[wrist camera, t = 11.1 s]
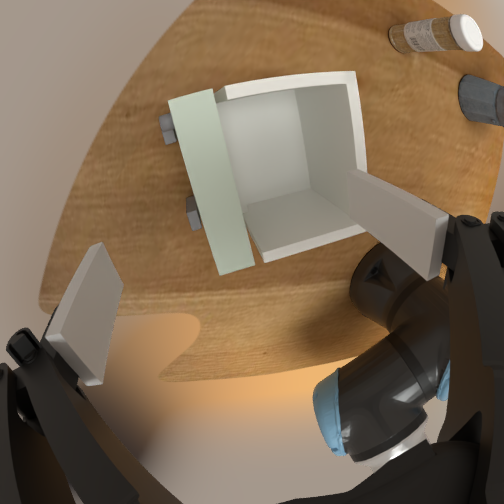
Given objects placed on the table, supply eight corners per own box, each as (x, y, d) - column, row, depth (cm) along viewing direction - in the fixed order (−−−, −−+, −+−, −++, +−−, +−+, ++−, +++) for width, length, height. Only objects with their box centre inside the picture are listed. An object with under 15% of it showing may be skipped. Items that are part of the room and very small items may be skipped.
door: (232, 213, 33) (255, 265, 23) (198, 223, 33) (205, 279, 23) (202, 97, 26) (212, 88, 16) (164, 108, 26) (150, 106, 16)
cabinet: (315, 191, 34) (368, 230, 24) (194, 225, 33) (201, 282, 23) (297, 80, 27) (355, 71, 17) (160, 110, 26) (144, 108, 16)
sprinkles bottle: (415, 47, 26) (488, 46, 15) (398, 58, 27) (474, 56, 16) (399, 21, 24) (472, 10, 13) (381, 30, 25) (456, 18, 13)
